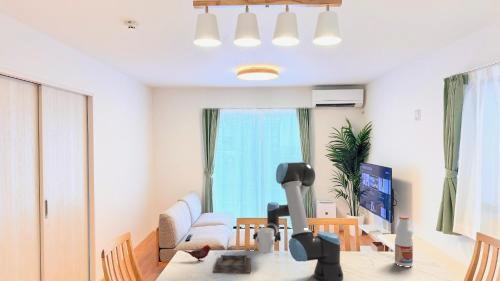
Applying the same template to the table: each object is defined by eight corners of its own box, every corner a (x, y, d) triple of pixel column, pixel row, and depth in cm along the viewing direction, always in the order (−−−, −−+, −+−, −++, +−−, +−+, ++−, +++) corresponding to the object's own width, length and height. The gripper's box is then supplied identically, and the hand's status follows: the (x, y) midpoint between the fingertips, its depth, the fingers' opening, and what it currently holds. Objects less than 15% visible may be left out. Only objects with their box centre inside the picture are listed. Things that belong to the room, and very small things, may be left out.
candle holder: (254, 252, 188) (254, 230, 187) (261, 247, 196) (261, 226, 196) (269, 254, 183) (269, 233, 183) (277, 249, 192) (276, 228, 191)
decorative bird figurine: (211, 262, 195) (211, 246, 195) (181, 261, 197) (181, 244, 197) (212, 261, 198) (212, 244, 198) (183, 259, 200) (183, 243, 200)
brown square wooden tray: (250, 259, 200) (250, 253, 200) (249, 273, 180) (249, 267, 180) (218, 259, 201) (218, 253, 201) (213, 272, 181) (213, 266, 181)
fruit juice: (401, 260, 199) (401, 213, 198) (416, 265, 191) (416, 217, 190) (391, 263, 194) (391, 215, 193) (406, 269, 186) (406, 219, 185)
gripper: (287, 237, 205) (283, 249, 183) (253, 235, 209) (245, 247, 187) (287, 225, 205) (283, 236, 183) (253, 223, 209) (245, 233, 187)
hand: (264, 241), depth 185 cm, fingers closed on candle holder, 9 cm apart
